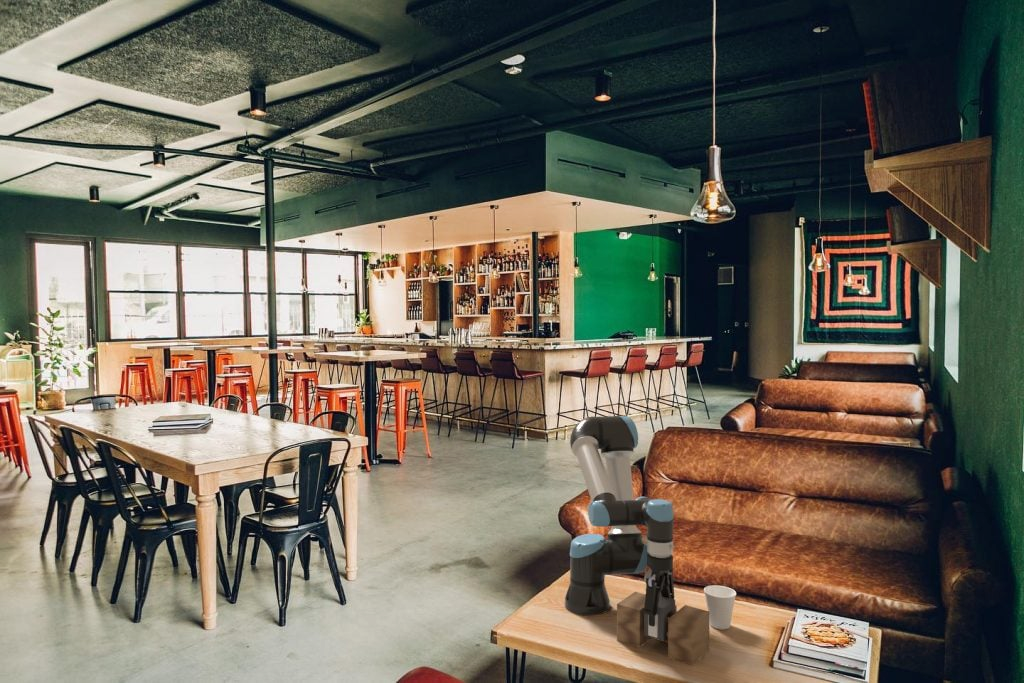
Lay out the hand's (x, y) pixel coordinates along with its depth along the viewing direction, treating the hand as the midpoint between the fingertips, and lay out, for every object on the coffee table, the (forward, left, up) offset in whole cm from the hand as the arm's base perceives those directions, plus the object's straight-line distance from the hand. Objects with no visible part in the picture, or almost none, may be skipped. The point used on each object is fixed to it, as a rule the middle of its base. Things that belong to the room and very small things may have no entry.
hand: (659, 630), depth 190 cm
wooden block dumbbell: (0, +2, -5) cm, 5 cm away
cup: (+9, +25, -5) cm, 27 cm away
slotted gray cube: (0, 0, -1) cm, 1 cm away
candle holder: (-12, +22, -5) cm, 26 cm away
